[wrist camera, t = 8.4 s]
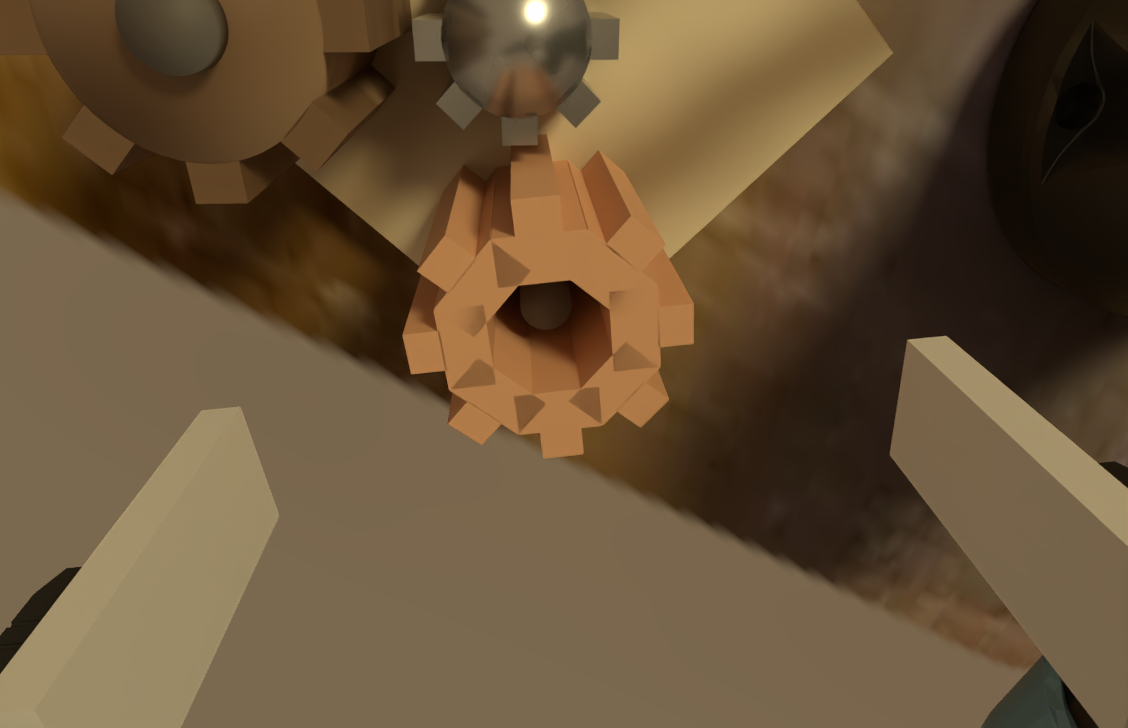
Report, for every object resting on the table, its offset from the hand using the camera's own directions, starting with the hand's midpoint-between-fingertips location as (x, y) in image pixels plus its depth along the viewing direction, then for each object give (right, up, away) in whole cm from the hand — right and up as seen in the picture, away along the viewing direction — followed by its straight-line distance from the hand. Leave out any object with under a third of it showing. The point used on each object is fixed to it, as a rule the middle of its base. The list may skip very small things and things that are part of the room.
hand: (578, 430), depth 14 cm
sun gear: (-2, +11, +6) cm, 13 cm away
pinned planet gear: (-8, +11, +6) cm, 15 cm away
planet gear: (-1, +5, +9) cm, 11 cm away
